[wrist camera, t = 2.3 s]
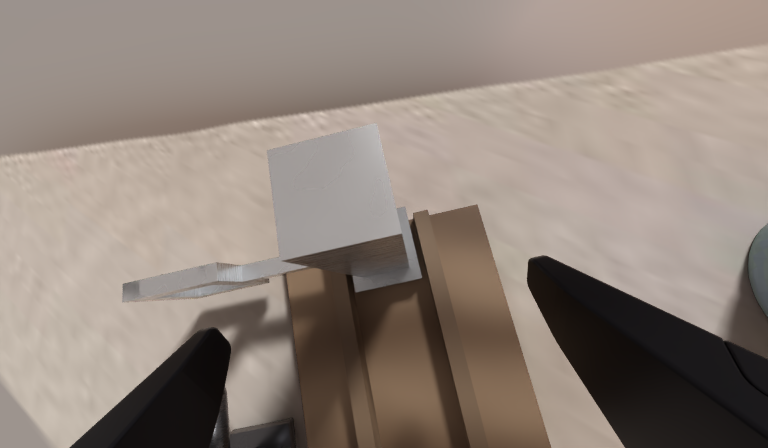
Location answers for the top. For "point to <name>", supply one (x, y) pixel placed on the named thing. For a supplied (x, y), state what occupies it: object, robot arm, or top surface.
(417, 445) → the track board
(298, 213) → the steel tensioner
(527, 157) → the top surface
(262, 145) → the top surface
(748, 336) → the top surface
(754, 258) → the green embossed cup
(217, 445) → the keeper hook
